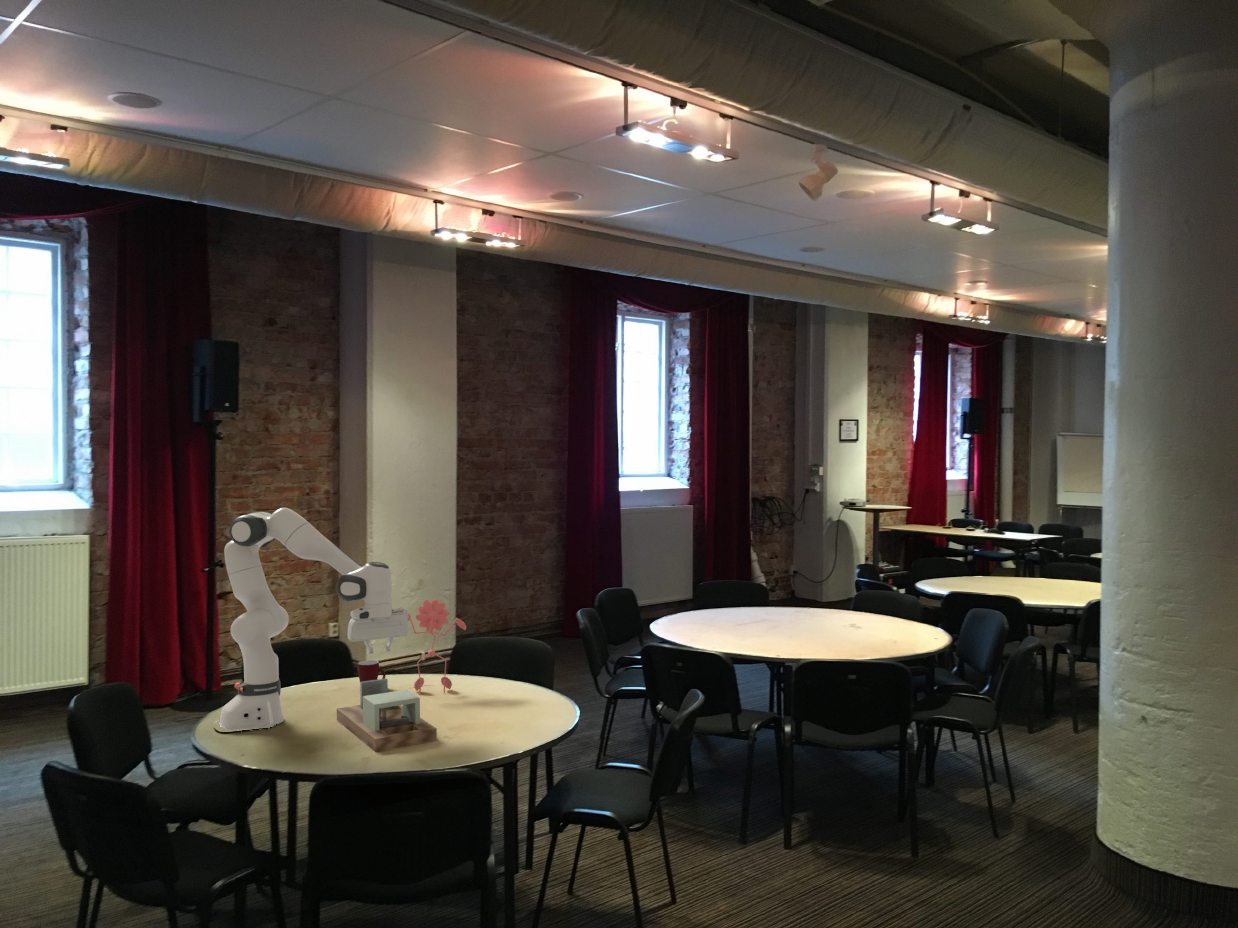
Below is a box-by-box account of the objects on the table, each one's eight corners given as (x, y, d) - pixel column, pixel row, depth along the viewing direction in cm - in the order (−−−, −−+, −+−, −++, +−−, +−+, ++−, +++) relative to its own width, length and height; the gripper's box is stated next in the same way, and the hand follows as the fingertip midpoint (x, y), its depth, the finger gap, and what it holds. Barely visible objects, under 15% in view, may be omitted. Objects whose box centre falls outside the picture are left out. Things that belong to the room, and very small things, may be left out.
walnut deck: (375, 751, 297) (375, 738, 297) (336, 720, 332) (336, 708, 332) (436, 740, 308) (436, 728, 308) (393, 710, 342) (393, 699, 342)
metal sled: (382, 727, 308) (382, 696, 308) (360, 711, 327) (360, 681, 327) (409, 722, 313) (409, 692, 313) (386, 707, 332) (386, 678, 332)
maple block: (386, 725, 311) (386, 710, 311) (381, 722, 315) (381, 706, 315) (401, 723, 313) (401, 707, 313) (396, 719, 318) (396, 704, 318)
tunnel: (374, 731, 305) (374, 704, 305) (362, 722, 315) (362, 696, 315) (420, 723, 313) (419, 697, 313) (407, 714, 323) (406, 689, 323)
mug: (386, 684, 380) (386, 659, 380) (384, 690, 372) (384, 664, 372) (359, 686, 378) (358, 660, 378) (356, 691, 370) (356, 665, 370)
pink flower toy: (466, 693, 365) (465, 600, 365) (397, 696, 363) (396, 603, 363) (468, 684, 381) (467, 595, 381) (401, 686, 378) (400, 597, 378)
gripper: (405, 606, 331) (405, 646, 332) (345, 612, 320) (346, 653, 321) (411, 609, 326) (412, 649, 326) (351, 615, 315) (352, 657, 315)
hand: (378, 651), depth 323 cm, fingers open, 4 cm apart
